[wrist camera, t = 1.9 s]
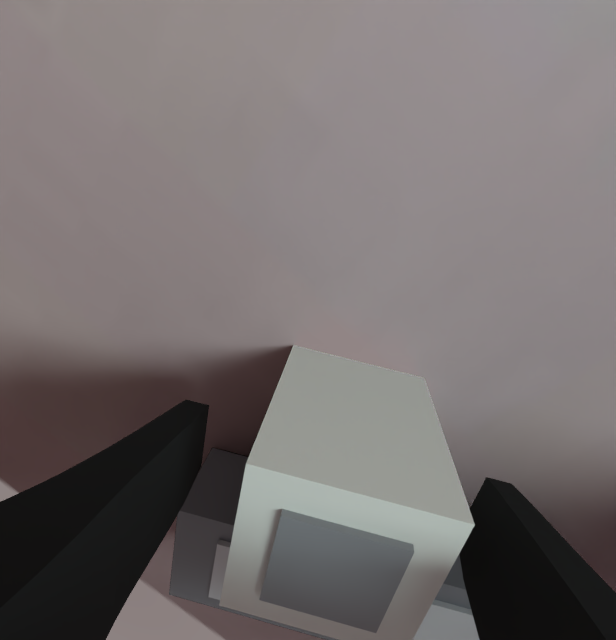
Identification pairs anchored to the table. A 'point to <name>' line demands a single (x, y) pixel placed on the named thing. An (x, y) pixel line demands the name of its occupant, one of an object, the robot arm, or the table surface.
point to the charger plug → (346, 504)
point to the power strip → (215, 539)
